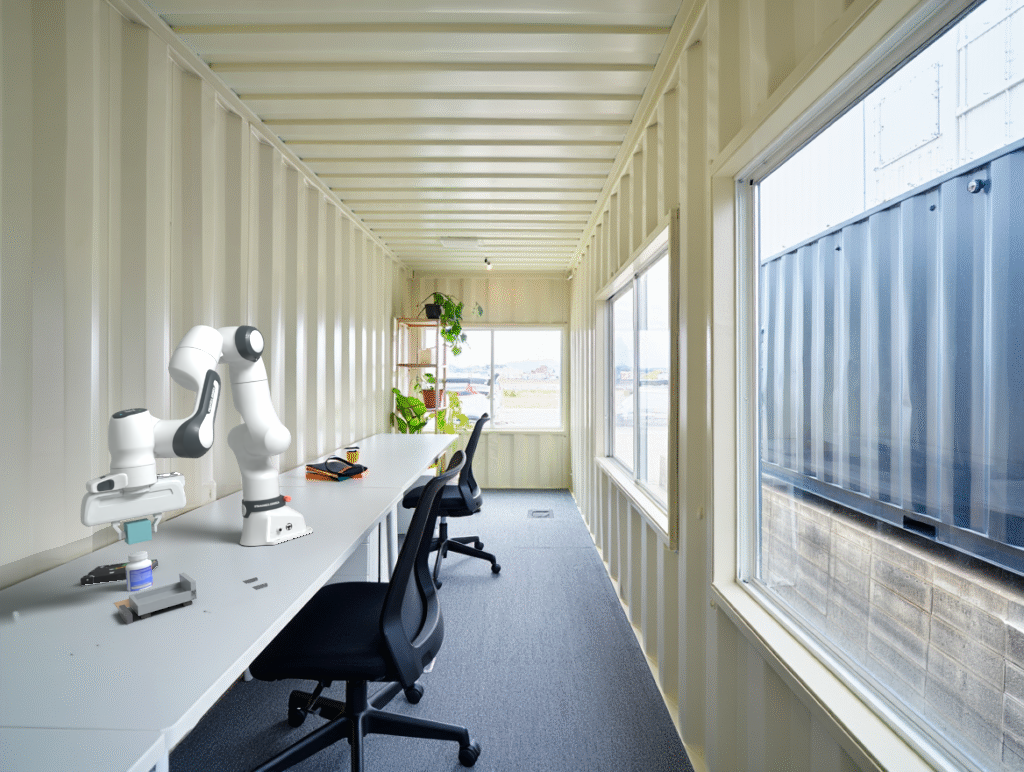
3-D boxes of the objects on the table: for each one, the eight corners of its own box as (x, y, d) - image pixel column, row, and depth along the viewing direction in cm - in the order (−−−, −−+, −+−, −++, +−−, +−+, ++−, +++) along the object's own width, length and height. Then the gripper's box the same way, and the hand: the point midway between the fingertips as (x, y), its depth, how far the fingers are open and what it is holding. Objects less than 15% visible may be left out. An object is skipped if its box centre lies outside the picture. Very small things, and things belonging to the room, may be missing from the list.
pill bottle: (158, 588, 133) (156, 550, 133) (137, 597, 128) (135, 557, 128) (143, 586, 135) (141, 549, 135) (121, 595, 130) (119, 556, 129)
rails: (255, 579, 136) (255, 567, 136) (268, 586, 131) (267, 574, 131) (119, 619, 115) (118, 605, 115) (127, 630, 110) (126, 615, 110)
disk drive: (80, 589, 137) (146, 579, 141) (79, 578, 137) (145, 569, 141) (98, 575, 147) (158, 566, 151) (97, 566, 147) (158, 557, 151)
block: (147, 536, 126) (146, 518, 126) (152, 539, 123) (150, 520, 123) (124, 541, 123) (123, 522, 123) (128, 544, 120) (127, 525, 120)
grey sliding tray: (185, 596, 125) (184, 572, 125) (196, 605, 119) (195, 581, 119) (129, 612, 117) (128, 587, 117) (138, 623, 111) (137, 597, 111)
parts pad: (159, 595, 128) (159, 590, 128) (165, 601, 124) (165, 596, 124) (113, 607, 122) (113, 602, 122) (119, 614, 118) (119, 609, 118)
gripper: (180, 469, 132) (184, 523, 133) (76, 484, 117) (81, 544, 118) (188, 471, 128) (191, 527, 128) (81, 487, 113) (85, 550, 113)
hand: (137, 535), depth 123 cm, fingers closed on block, 4 cm apart
